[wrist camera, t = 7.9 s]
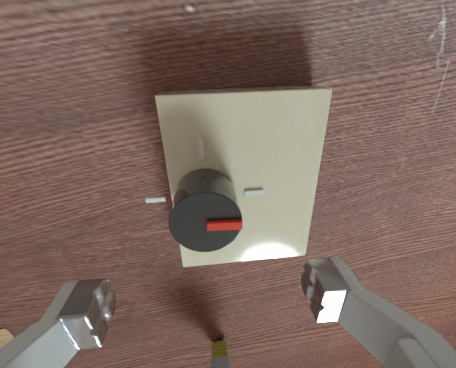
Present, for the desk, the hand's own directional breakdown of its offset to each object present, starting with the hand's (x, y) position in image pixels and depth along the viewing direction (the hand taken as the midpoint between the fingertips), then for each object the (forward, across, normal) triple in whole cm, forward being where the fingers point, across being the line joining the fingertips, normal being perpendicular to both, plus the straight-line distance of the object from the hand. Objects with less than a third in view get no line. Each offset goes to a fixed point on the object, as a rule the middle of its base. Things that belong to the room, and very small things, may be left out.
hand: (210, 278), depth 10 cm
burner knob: (+8, 0, 0) cm, 8 cm away
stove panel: (+11, -3, 0) cm, 11 cm away
